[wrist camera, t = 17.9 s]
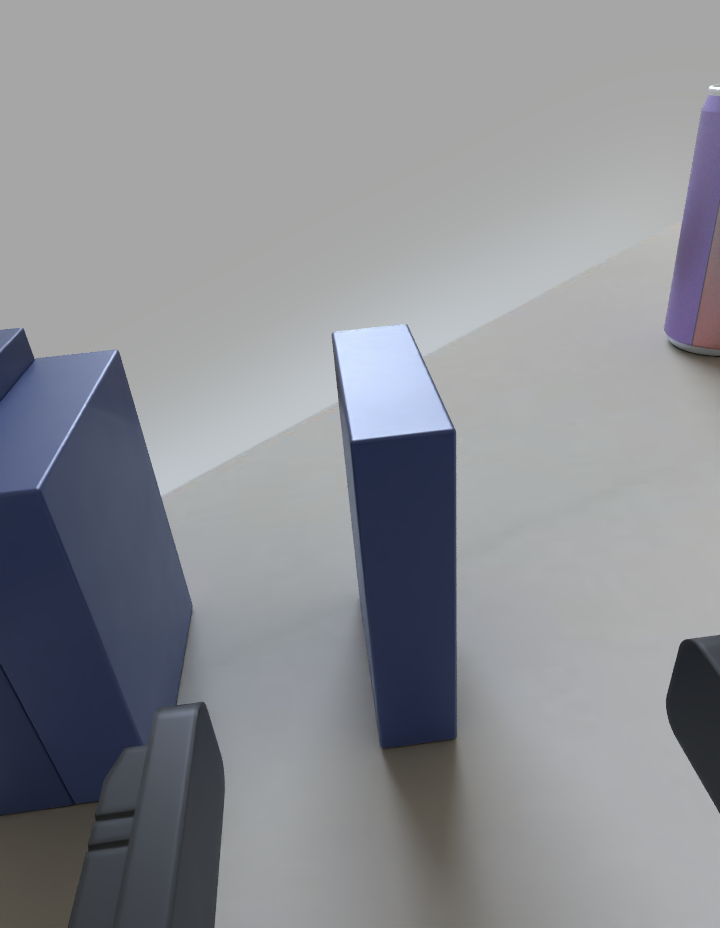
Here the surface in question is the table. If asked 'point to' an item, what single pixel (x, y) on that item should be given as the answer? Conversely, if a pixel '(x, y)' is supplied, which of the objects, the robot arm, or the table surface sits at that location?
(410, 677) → the navy book
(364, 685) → the table surface
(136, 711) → the navy books
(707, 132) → the beverage can
